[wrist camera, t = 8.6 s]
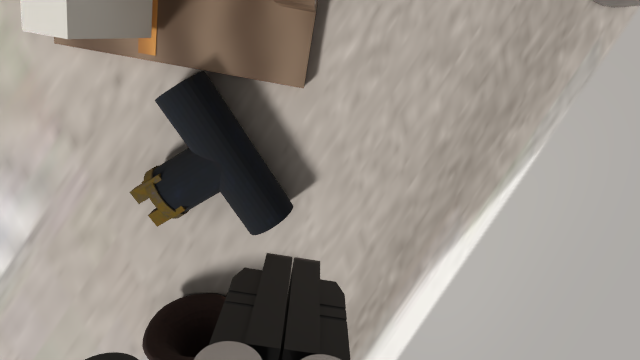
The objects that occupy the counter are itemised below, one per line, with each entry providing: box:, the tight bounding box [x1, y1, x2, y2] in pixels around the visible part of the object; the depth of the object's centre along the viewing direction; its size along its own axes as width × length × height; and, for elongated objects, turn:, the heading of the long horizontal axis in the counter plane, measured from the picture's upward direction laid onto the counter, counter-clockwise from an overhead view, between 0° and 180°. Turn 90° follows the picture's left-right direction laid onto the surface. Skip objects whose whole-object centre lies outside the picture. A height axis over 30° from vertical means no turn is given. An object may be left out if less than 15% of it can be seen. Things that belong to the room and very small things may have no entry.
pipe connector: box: [130, 71, 293, 235], centre depth 39 cm, size 12×5×15 cm
